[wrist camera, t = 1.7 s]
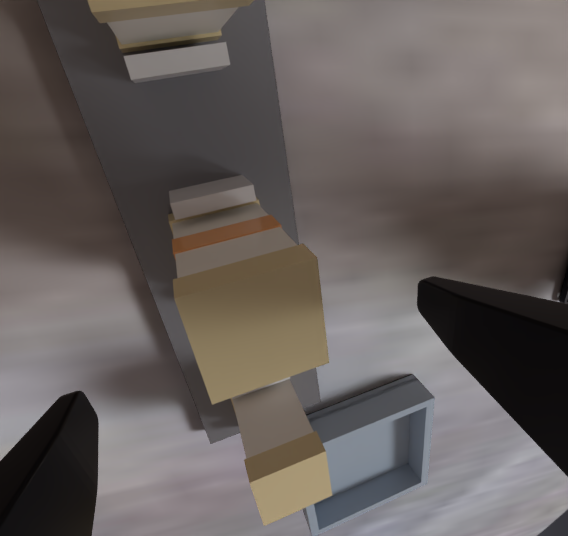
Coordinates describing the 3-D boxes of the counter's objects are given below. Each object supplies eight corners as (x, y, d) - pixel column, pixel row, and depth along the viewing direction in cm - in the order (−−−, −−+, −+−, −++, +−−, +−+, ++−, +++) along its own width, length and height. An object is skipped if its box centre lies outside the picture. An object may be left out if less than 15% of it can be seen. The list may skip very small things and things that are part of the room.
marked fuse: (253, 194, 15) (317, 257, 9) (267, 267, 16) (328, 362, 10) (168, 214, 14) (174, 298, 8) (192, 288, 16) (212, 404, 10)
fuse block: (236, -132, 11) (326, -404, 5) (314, 390, 22) (370, 495, 16) (-5, -124, 10) (-274, -493, 4) (208, 430, 21) (228, 561, 15)
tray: (413, 374, 25) (434, 397, 23) (409, 458, 30) (427, 483, 28) (283, 424, 23) (294, 454, 21) (301, 506, 28) (312, 537, 26)
